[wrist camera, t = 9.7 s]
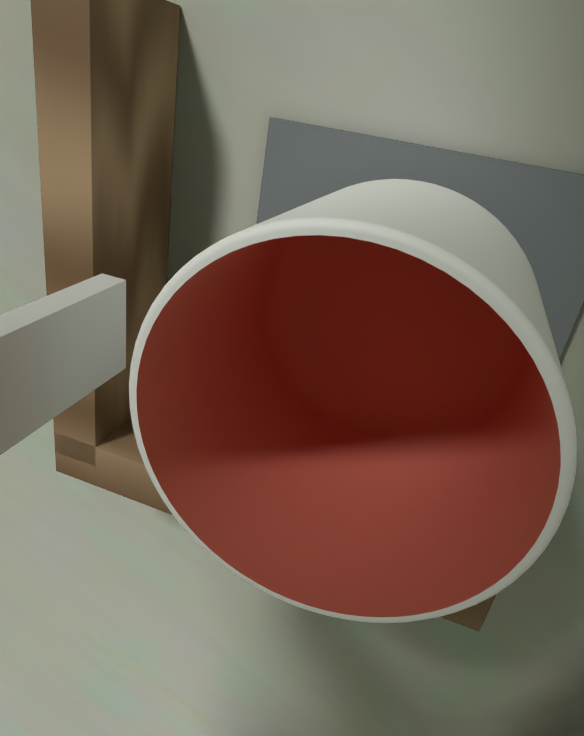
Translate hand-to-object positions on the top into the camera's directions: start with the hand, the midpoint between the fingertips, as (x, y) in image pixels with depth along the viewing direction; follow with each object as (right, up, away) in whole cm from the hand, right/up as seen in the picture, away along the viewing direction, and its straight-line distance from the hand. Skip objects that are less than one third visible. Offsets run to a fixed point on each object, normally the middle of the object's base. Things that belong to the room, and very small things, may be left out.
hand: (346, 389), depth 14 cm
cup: (+3, +3, +7) cm, 8 cm away
